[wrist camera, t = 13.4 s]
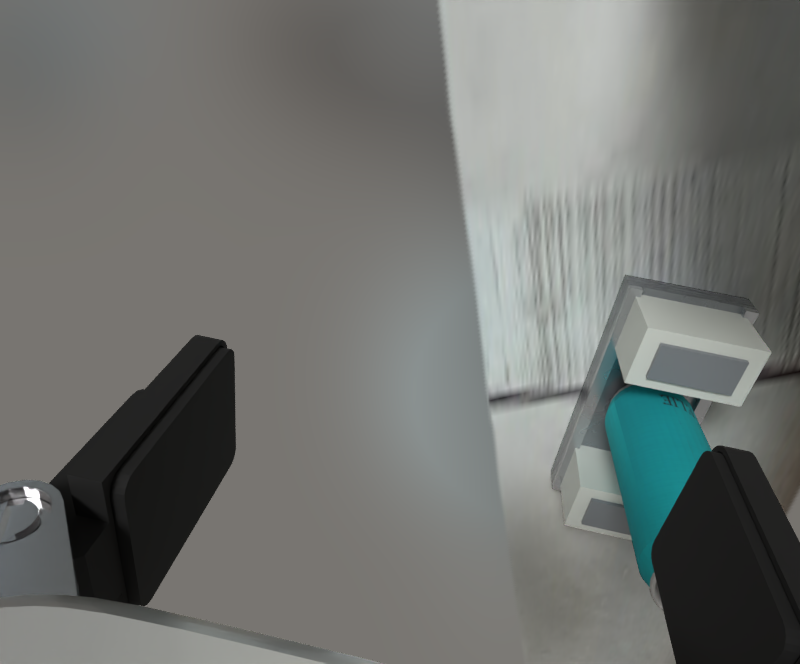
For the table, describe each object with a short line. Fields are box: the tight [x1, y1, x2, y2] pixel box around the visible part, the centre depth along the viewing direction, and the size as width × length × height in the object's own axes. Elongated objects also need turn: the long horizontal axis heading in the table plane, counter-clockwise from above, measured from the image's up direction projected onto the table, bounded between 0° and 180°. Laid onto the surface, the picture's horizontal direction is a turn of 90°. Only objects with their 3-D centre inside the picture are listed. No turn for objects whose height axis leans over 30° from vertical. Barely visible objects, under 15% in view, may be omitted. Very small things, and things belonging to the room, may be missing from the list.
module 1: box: [560, 445, 632, 541], centre depth 43 cm, size 4×7×5 cm, turn 82°
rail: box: [551, 275, 760, 491], centre depth 42 cm, size 18×8×2 cm, turn 172°
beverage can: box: [605, 384, 711, 611], centre depth 35 cm, size 6×6×15 cm
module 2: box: [615, 295, 772, 407], centre depth 36 cm, size 4×7×5 cm, turn 82°
